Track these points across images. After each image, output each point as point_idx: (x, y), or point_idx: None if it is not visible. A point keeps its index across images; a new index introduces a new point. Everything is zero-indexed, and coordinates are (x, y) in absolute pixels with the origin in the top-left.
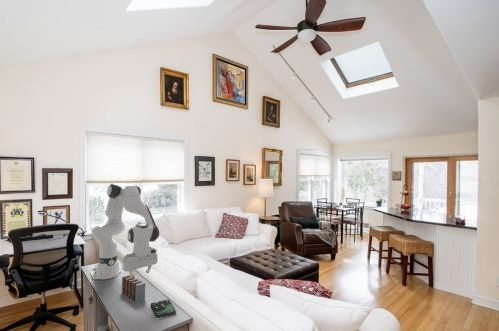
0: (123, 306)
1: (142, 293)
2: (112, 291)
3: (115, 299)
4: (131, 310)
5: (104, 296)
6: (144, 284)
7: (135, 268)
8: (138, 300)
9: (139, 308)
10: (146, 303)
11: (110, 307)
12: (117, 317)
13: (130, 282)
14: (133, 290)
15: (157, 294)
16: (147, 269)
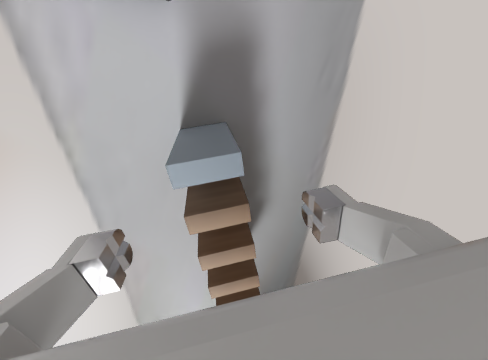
0: (286, 123)
1: (193, 137)
2: (266, 266)
3: (283, 205)
4: (276, 47)
5: (299, 243)
6: (175, 159)
7: (413, 273)
8: (217, 125)
9: (235, 38)
10: (183, 77)
11: (325, 149)
12: (354, 17)
13: (250, 238)
14: (239, 179)
15: (98, 152)
16: (91, 292)
